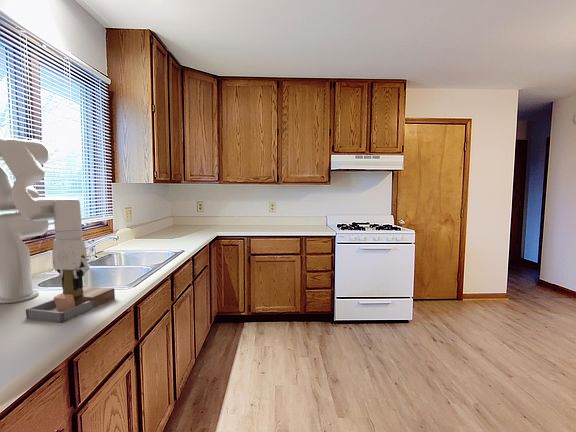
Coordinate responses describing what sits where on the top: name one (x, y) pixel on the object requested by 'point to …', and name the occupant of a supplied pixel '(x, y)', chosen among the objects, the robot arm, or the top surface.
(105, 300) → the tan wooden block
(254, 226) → the top surface
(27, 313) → the box
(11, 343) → the top surface
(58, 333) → the top surface
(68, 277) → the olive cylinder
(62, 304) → the tile
